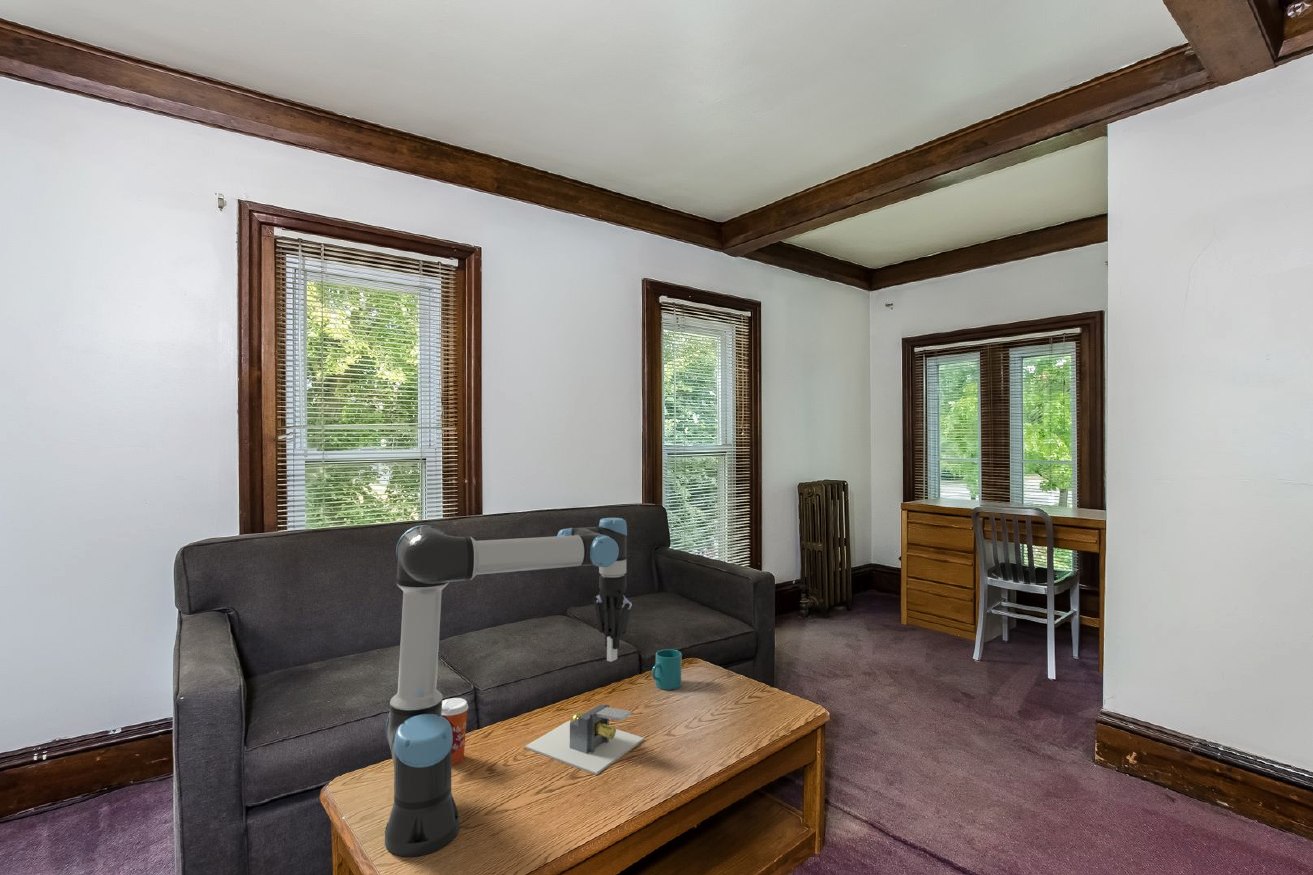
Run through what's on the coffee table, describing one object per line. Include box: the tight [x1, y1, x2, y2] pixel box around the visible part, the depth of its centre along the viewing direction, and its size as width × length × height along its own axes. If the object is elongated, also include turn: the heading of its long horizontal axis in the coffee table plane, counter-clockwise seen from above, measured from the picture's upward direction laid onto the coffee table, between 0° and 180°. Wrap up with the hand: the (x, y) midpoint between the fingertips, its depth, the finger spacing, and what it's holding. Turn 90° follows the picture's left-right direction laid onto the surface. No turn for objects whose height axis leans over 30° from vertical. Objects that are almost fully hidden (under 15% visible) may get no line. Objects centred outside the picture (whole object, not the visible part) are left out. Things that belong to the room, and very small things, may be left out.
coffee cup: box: [442, 697, 469, 766], centre depth 164 cm, size 8×8×15 cm
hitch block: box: [570, 703, 610, 754], centre depth 171 cm, size 7×10×10 cm
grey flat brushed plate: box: [596, 706, 632, 722], centre depth 167 cm, size 1×5×8 cm
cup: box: [651, 648, 683, 691], centre depth 213 cm, size 9×12×11 cm
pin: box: [570, 710, 617, 739], centre depth 171 cm, size 13×5×5 cm, turn 57°
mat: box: [524, 719, 645, 776], centre depth 172 cm, size 22×25×1 cm
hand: (612, 659), depth 169 cm, fingers closed
